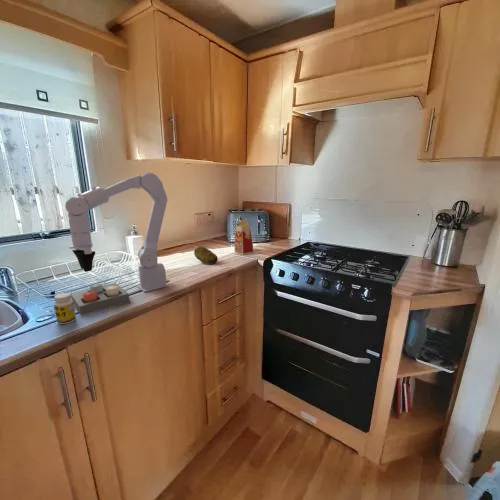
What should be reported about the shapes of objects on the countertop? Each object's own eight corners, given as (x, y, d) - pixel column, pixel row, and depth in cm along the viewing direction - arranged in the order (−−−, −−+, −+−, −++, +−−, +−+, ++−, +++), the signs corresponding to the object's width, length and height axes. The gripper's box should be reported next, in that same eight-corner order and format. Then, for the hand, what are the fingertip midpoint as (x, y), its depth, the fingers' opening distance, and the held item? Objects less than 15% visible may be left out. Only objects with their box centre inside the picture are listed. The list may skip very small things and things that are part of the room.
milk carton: (245, 249, 168) (245, 217, 163) (254, 253, 160) (254, 219, 155) (232, 251, 163) (232, 218, 158) (241, 255, 156) (240, 220, 151)
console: (116, 290, 107) (115, 282, 106) (129, 301, 97) (128, 293, 96) (71, 301, 97) (70, 293, 96) (81, 315, 87) (79, 306, 86)
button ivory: (117, 293, 99) (116, 284, 98) (121, 296, 96) (120, 288, 96) (105, 296, 97) (104, 287, 96) (108, 299, 94) (107, 291, 93)
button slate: (102, 290, 101) (100, 282, 100) (105, 294, 98) (104, 285, 98) (89, 293, 99) (88, 285, 98) (92, 297, 96) (91, 288, 95)
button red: (96, 298, 95) (94, 290, 94) (99, 302, 92) (97, 293, 91) (82, 302, 92) (81, 293, 91) (85, 306, 89) (84, 296, 88)
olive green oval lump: (206, 267, 134) (205, 251, 132) (192, 261, 144) (191, 246, 142) (219, 263, 140) (219, 248, 138) (205, 258, 149) (204, 244, 147)
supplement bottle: (53, 324, 82) (48, 298, 80) (66, 316, 86) (61, 291, 84) (67, 325, 81) (62, 299, 79) (79, 317, 85) (75, 292, 83)
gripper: (63, 230, 97) (69, 267, 101) (71, 237, 87) (78, 277, 90) (85, 228, 102) (90, 263, 105) (96, 234, 92) (101, 272, 95)
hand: (86, 269), depth 98 cm, fingers open, 4 cm apart
